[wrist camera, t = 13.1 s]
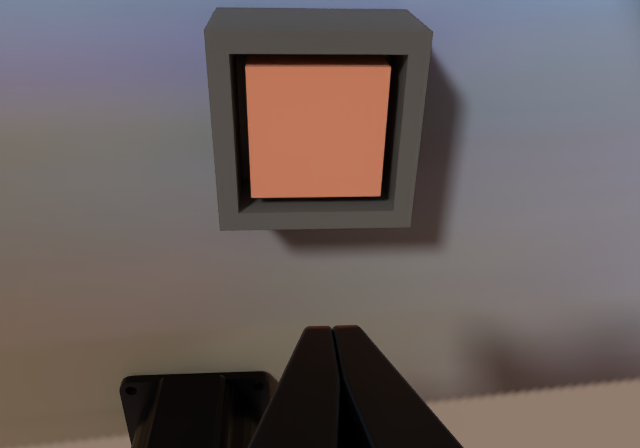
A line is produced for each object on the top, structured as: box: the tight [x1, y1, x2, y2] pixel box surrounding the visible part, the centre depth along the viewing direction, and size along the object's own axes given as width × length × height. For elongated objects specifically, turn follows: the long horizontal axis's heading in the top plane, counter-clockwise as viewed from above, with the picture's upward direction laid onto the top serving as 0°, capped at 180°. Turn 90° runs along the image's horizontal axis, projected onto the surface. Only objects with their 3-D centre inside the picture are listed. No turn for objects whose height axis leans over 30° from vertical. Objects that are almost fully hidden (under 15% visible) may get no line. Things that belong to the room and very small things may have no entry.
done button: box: [245, 54, 391, 198], centre depth 17 cm, size 4×4×2 cm
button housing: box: [204, 8, 433, 231], centre depth 18 cm, size 6×6×4 cm
